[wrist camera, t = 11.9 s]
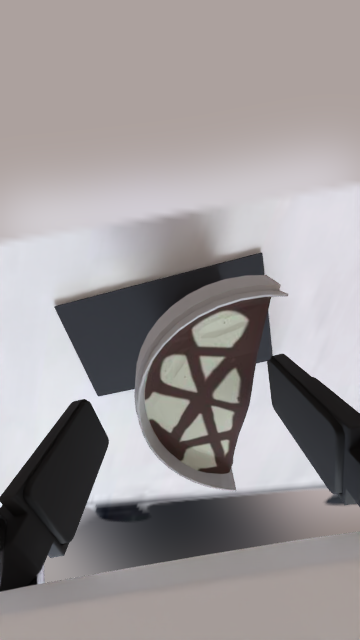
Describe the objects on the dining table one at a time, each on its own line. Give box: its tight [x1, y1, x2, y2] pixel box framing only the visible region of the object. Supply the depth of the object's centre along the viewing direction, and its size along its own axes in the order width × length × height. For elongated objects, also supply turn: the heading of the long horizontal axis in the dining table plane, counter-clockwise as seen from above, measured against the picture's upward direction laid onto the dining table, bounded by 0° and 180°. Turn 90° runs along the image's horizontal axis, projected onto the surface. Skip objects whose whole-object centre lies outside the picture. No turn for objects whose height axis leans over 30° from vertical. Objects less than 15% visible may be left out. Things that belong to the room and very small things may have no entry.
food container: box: [135, 275, 288, 491], centre depth 13 cm, size 12×6×10 cm, turn 176°
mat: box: [55, 253, 272, 396], centre depth 18 cm, size 20×11×1 cm, turn 104°
